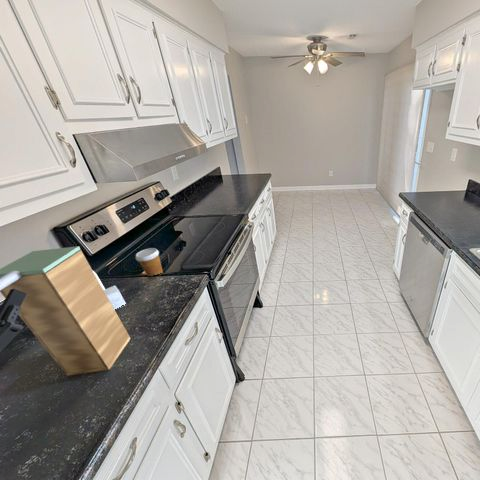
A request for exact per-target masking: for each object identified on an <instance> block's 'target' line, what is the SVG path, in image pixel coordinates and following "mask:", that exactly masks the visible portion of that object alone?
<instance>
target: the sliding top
mask: <svg viewBox="0 0 480 480" xmlns="http://www.w3.org/2000/svg"><path fill="white" fill-rule="evenodd" d="M79 250H81V246H79V245H78V246H69V247H68V246H67V247H58V248H50V249H42V250H40V249H39V250H32V251H30V252H28V253H27V254H25V255H23V256H21V257H19V258H17V259H16V260H14V261H12V262H10V263H8V264H6V265H5V266H3V267H1V268H0V290H2V289H3V288H5V287H7V286H8V285H10V284H12V283H13V282H15V281H16V280H18V279H20V278H21V277H22V275H31V274H40V273H45V272H47V271H48V270H50V269H51V268H53V267H54V266H56V265H58V264H59V263H61V262H62V261H64V260H65V259H67V258H68V257H70V256H71V255H73V254H74V253H76V252H77V251H79Z"/></svg>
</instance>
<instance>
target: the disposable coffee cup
mask: <svg viewBox="0 0 480 480" xmlns="http://www.w3.org/2000/svg"><path fill="white" fill-rule="evenodd" d="M135 260H136V261H137V262H138V263H139V265H140V266H141V268H142V269H143V271H144V273H145V274H146V275H147V277H148V276H153V275H157V274H160V273H162V274H163V267H162V262H161V259H160V251H159V250H158V249H157V248H155V247H148V248H145V249H142V250H140V251H137V253H135ZM160 275H161V274H160Z"/></svg>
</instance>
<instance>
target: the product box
mask: <svg viewBox="0 0 480 480" xmlns="http://www.w3.org/2000/svg"><path fill="white" fill-rule="evenodd" d="M104 292H105V294H106V295H107V297H108V299H109V301H110V303H111V304H112V306H113V308H114V310H115V309H116V310H118V309H120V308H122V307H123V306H122V305H124V306H126V305H127V302H126V301H125V298H124V297H123V296H122V295H123V294H121V292H120V289H118V287H117V286H116V285H112V286H110V287H108V288H105V290H104ZM125 304H126V305H125ZM121 306H122V307H121ZM119 307H120V308H119ZM117 308H118V309H117ZM116 310H115V311H116Z"/></svg>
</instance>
